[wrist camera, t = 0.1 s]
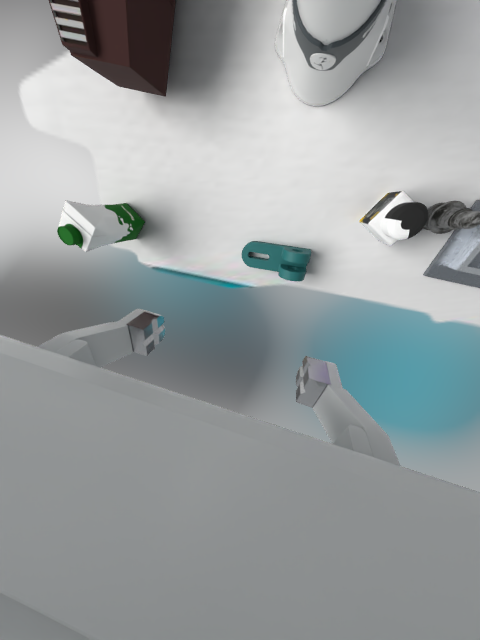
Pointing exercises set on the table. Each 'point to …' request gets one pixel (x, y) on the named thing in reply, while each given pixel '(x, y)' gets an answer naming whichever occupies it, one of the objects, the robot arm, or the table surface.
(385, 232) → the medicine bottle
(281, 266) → the bracket
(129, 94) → the table surface
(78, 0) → the dark brown boxy piece
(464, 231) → the plate
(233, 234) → the table surface
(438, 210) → the chess piece
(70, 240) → the milk carton
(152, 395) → the robot arm
